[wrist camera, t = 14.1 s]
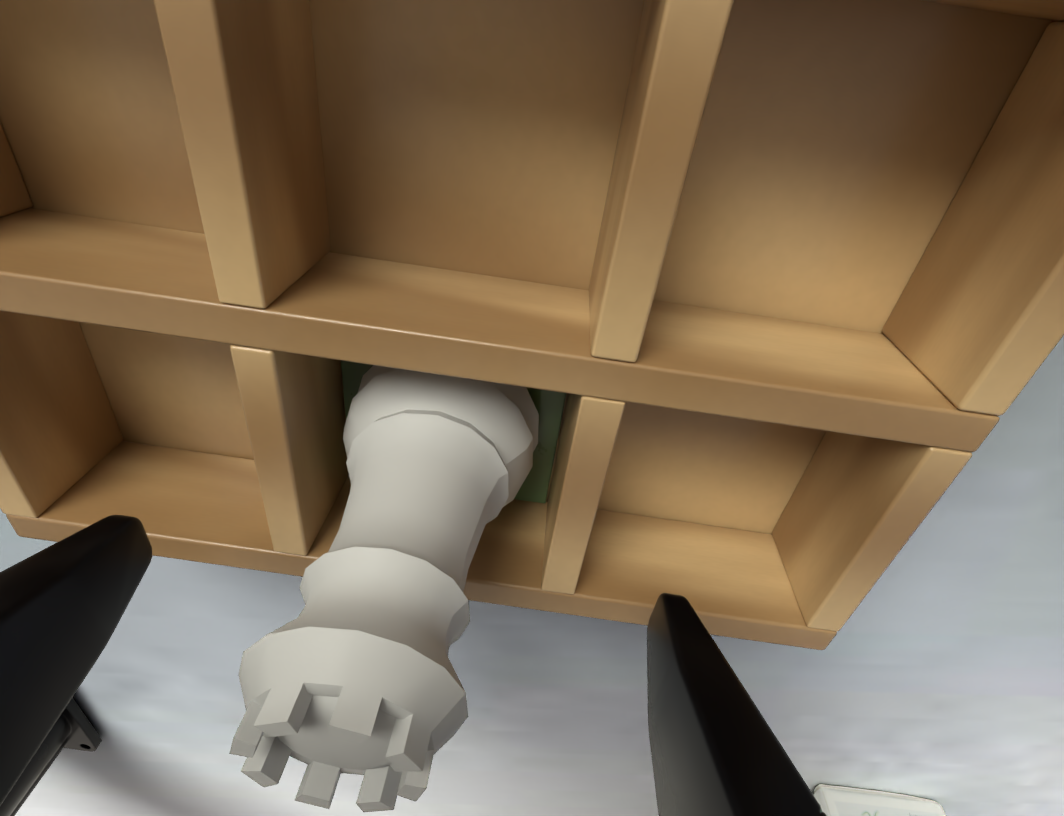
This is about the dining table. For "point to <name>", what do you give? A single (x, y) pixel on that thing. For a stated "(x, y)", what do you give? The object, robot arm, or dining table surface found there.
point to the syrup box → (872, 803)
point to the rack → (531, 274)
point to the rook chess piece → (388, 591)
